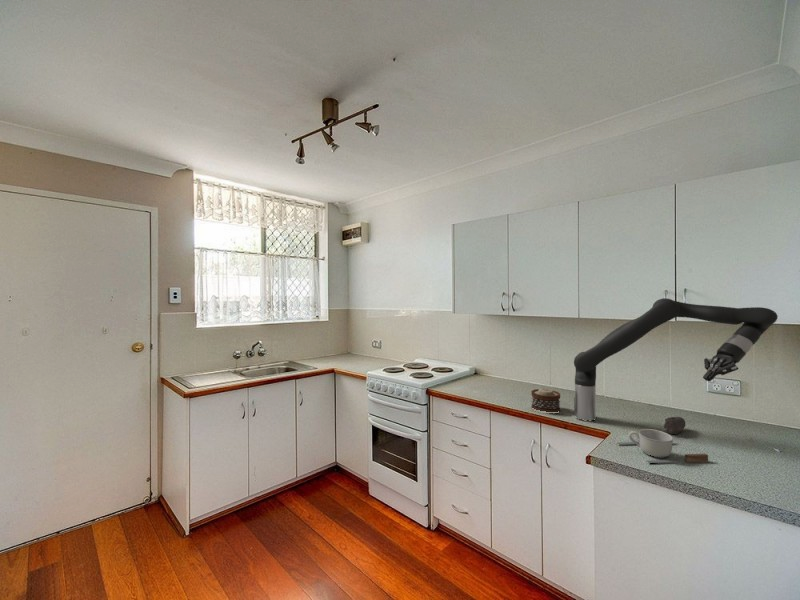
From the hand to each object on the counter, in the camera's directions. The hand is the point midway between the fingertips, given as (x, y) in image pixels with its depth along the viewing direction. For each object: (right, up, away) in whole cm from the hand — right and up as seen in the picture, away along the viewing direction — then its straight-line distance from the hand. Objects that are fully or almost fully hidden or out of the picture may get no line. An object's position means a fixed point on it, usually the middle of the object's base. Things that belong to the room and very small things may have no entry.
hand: (706, 379), depth 140 cm
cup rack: (-13, -28, -2) cm, 31 cm away
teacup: (-25, -28, -3) cm, 38 cm away
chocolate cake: (-44, -28, +50) cm, 72 cm away
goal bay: (-27, -28, -3) cm, 39 cm away
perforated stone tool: (+2, -28, +18) cm, 33 cm away
